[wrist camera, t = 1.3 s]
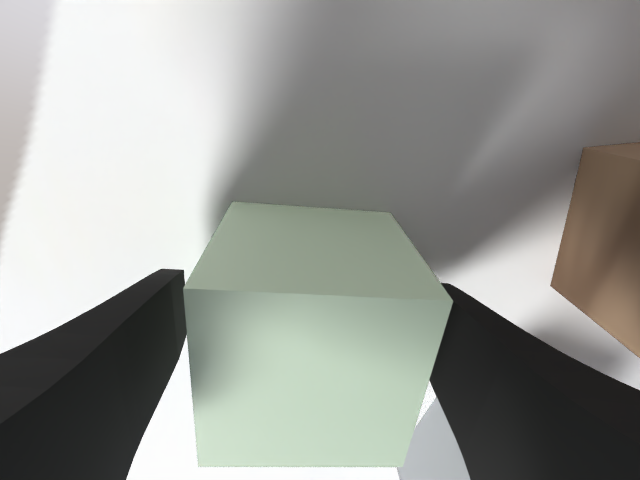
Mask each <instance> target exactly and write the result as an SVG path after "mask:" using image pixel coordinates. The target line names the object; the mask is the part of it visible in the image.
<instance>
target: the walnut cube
mask: <svg viewBox="0 0 640 480" xmlns="http://www.w3.org/2000/svg"><path fill="white" fill-rule="evenodd" d="M550 286H551V287H552V288H554V289H555V290H556V291H557V292H559V293H560V294H561V295H562V296H564V297H565V298H566V299H567V300H568V301H570V302H571V303H572V304H573V305H575V306H576V307H577V308H578V309H580V310H581V311H582V312H583V313H585V314H586V315H587V316H588V317H590V318H591V319H592V320H593V321H594V322H596V323H597V324H598V325H599V326H601V327H602V328H603V329H604V330H606V331H607V332H608V333H609V334H611V335H612V336H613V337H614V338H616V339H617V340H618V341H619V342H620V343H622V344H623V345H624V346H625V347H627V348H628V349H629V350H630V351H632V352H633V353H634V354H635V355H637V356H638V357H639V358H640V142H636V143H626V144H615V145H605V146H594V147H584V148H583V152H582V156H581V160H580V164H579V168H578V173H577V177H576V181H575V185H574V189H573V193H572V198H571V202H570V206H569V210H568V214H567V219H566V223H565V227H564V231H563V235H562V239H561V244H560V248H559V252H558V256H557V260H556V265H555V269H554V273H553V277H552V281H551V285H550Z"/></svg>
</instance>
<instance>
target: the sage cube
mask: <svg viewBox="0 0 640 480" xmlns="http://www.w3.org/2000/svg"><path fill="white" fill-rule="evenodd" d="M183 293H184V305H185V317H186V328H187V340H188V352H189V364H190V376H191V388H192V399H193V411H194V423H195V435H196V447H197V458H198V467H403V464H404V461H405V458H406V455H407V451H408V448H409V445H410V441H411V438H412V435H413V432H414V428H415V425H416V422H417V418H418V415H419V412H420V409H421V405H422V402H423V399H424V395H425V392H426V389H427V386H428V382H429V379H430V376H431V373H432V369H433V366H434V363H435V359H436V356H437V353H438V350H439V346H440V343H441V340H442V336H443V333H444V330H445V327H446V323H447V320H448V317H449V313H450V310H451V307H452V304H453V300H452V299H451V297H450V296H449V294H448V293H447V292H446V290H445V289H444V287H443V286H442V285H441V283H440V282H439V280H438V279H437V277H436V276H435V275H434V273H433V272H432V270H431V269H430V268H429V266H428V265H427V263H426V262H425V261H424V259H423V258H422V256H421V255H420V254H419V252H418V251H417V249H416V248H415V247H414V245H413V244H412V242H411V241H410V240H409V238H408V237H407V235H406V234H405V232H404V231H403V230H402V228H401V227H400V225H399V224H398V223H397V221H396V220H395V218H394V217H393V216H392V214H391V213H390V212H376V211H361V210H347V209H333V208H319V207H304V206H290V205H276V204H262V203H247V202H233V201H232V203H231V204H230V206H229V208H228V210H227V212H226V213H225V215H224V217H223V219H222V220H221V222H220V224H219V226H218V227H217V229H216V231H215V233H214V235H213V236H212V238H211V240H210V242H209V243H208V245H207V247H206V249H205V250H204V252H203V254H202V256H201V258H200V259H199V261H198V263H197V265H196V266H195V268H194V270H193V272H192V274H191V275H190V277H189V279H188V281H187V282H186V284H185V286H184V288H183Z"/></svg>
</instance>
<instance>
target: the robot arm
mask: <svg viewBox="0 0 640 480" xmlns="http://www.w3.org/2000/svg"><path fill="white" fill-rule="evenodd" d="M441 285H442V286H443V287H444V289H445V290H446V292H447V293H448V294H449V296H450V297H451V299H452V300H453V304H452V307H451V310H450V313H449V317H448V320H447V323H446V327H445V330H444V333H443V336H442V340H441V343H440V346H439V350H438V353H437V356H436V359H435V363H434V366H433V369H432V373H431V376H430V379H429V380H430V383H431V385H432V387H433V389H434V392H435V394H436V396H437V398H438V401H439V403H440V405H441V407H442V410H443V412H444V414H445V416H446V419H447V421H448V423H449V425H450V427H451V430H452V432H453V434H454V436H455V439H456V441H457V444H458V446H459V449H460V451H461V454H462V456H463V459H464V462H465V465H466V468H467V471H468V474H469V477H470V480H640V390H638V389H635V388H633V387H631V386H629V385H626V384H624V383H622V382H620V381H618V380H615V379H613V378H611V377H609V376H607V375H605V374H603V373H601V372H599V371H597V370H595V369H593V368H591V367H589V366H587V365H585V364H583V363H581V362H579V361H577V360H575V359H573V358H571V357H569V356H567V355H566V354H564V353H562V352H560V351H558V350H557V349H555V348H553V347H551V346H550V345H548V344H546V343H544V342H543V341H541V340H539V339H538V338H536V337H534V336H532V335H531V334H529V333H527V332H526V331H524V330H523V329H521V328H519V327H518V326H516V325H514V324H513V323H511V322H510V321H508V320H507V319H505V318H503V317H502V316H500V315H499V314H497V313H496V312H494V311H493V310H491V309H490V308H488V307H487V306H485V305H483V304H482V303H480V302H479V301H477V300H476V299H474V298H473V297H471V296H470V295H468V294H466V293H465V292H463V291H461V290H460V289H458V288H456V287H455V286H453V285H451V284H448V283H441ZM184 286H185V280H184V270H174V269H160V270H158V271H156V272H154V273H152V274H151V275H149V276H147V277H145V278H144V279H142V280H140V281H139V282H137V283H135V284H134V285H132V286H130V287H129V288H127V289H125V290H124V291H122V292H120V293H119V294H117V295H115V296H113V297H112V298H110V299H108V300H107V301H105V302H103V303H102V304H100V305H98V306H96V307H94V308H93V309H91V310H89V311H87V312H85V313H83V314H81V315H80V316H78V317H76V318H74V319H72V320H70V321H69V322H67V323H65V324H63V325H61V326H59V327H57V328H55V329H53V330H51V331H49V332H47V333H45V334H43V335H41V336H39V337H37V338H35V339H33V340H30V341H28V342H26V343H24V344H22V345H19V346H17V347H15V348H13V349H10V350H8V351H6V352H4V353H1V354H0V480H126V478H127V475H128V472H129V469H130V467H131V464H132V461H133V458H134V456H135V453H136V451H137V449H138V446H139V444H140V441H141V439H142V437H143V435H144V432H145V430H146V428H147V426H148V424H149V422H150V420H151V418H152V416H153V413H154V411H155V409H156V407H157V405H158V403H159V401H160V399H161V396H162V394H163V392H164V390H165V388H166V386H167V384H168V382H169V379H170V377H171V375H172V373H173V371H174V369H175V366H176V364H177V362H178V360H179V357H180V354H181V351H182V348H183V345H184V341H185V338H186V335H187V328H186V317H185V305H184V293H183V288H184Z"/></svg>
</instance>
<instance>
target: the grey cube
mask: <svg viewBox="0 0 640 480" xmlns="http://www.w3.org/2000/svg"><path fill="white" fill-rule="evenodd" d="M397 470H398V474H399V478H400V480H470V477H469V474H468V471H467V468H466V465H465V462H464V459H463V456H462V454H461V451H460V449H459V446H458V444H457V441H456V439H455V436H454V434H453V432H452V430H451V427H450V425H449V423H448V421H447V419H446V416H445V414H444V412H443V410H442V407H441V405H440V403H439V401H438V398H437V397H436V399H435V400H434V402H433V403H432V404H431V406H430V407H429V409H428V410H427V412H426V413H425V415H424V416H423V417H422V419H421V420H420V422H419V423H418V425H417V426H416V428H415V429H414V432H413V435H412V438H411V441H410V445H409V448H408V451H407V455H406V458H405V461H404V464H403V467H397Z"/></svg>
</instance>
